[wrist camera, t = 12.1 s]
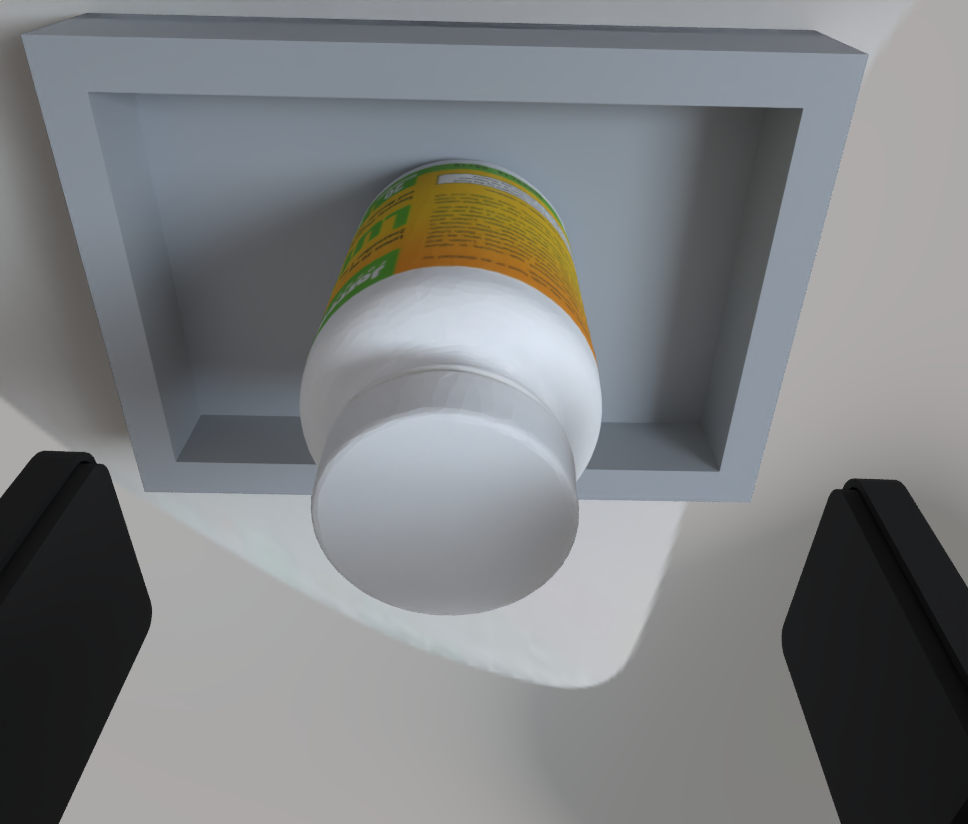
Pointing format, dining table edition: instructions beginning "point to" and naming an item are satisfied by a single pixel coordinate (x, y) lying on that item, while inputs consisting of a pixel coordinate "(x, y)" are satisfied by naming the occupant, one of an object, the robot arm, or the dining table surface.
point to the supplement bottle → (452, 394)
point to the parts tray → (419, 141)
